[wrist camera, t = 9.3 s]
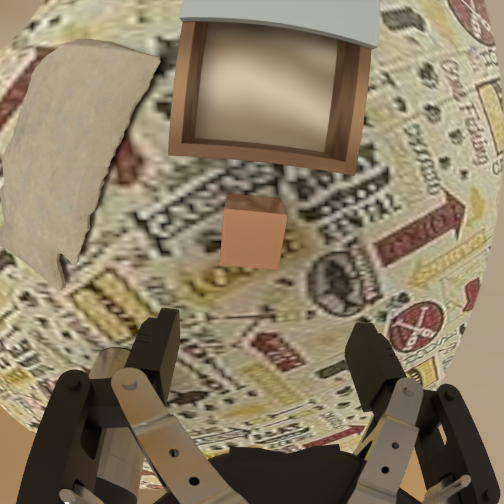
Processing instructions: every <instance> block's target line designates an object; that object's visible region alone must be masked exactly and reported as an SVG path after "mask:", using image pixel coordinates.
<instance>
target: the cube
mask: <svg viewBox="0 0 504 504" xmlns="http://www.w3.org/2000/svg"><path fill="white" fill-rule="evenodd" d="M287 216H288V215H287V213H286V210H285V208H284V206H283V204H282V202H281V200H280V198H271V197H262V196H253V195H243V194H232V193H227V197H226V202H225V207H224V218H223V229H222V242H221V254H220V265H225V266H236V267H247V268H259V269H270V270H278V268H279V262H280V256H281V251H282V245H283V239H284V233H285V228H286V222H287Z"/></svg>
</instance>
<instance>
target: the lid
mask: <svg viewBox="0 0 504 504" xmlns="http://www.w3.org/2000/svg"><path fill="white" fill-rule="evenodd" d="M379 12H380V0H183V2H182V7H181V13H180V19H181V21H182V22H183V21H215V22H235V23H248V24H258V25H267V26H274V27H281V28H288V29H294V30H299V31H304V32H310V33H314V34H319V35H323V36H328V37H332V38H336V39H340V40H343V41H347V42H351V43H354V44H357V45H361V46H364V47H367V48H370V49H374V48H377V47H378V36H379Z"/></svg>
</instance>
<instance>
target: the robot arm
mask: <svg viewBox="0 0 504 504" xmlns="http://www.w3.org/2000/svg"><path fill="white" fill-rule="evenodd" d="M179 345H180V320H179V310H178V309H170V308H161V310H160V313H159V316H158V318H150V317H149V318H148V319H147V320H146V321H145V322H144V323H142V324H141V327H140V329H139V332H138V335H137V336H136V339H135V342H134V344H133V346H132V349H131V351H129V350H125V349H120V348H109V349H106V350H103V351H102V352H100V354H99V355H98V357H97V359H96V361H95V363H94V365H93V367H92V370H91V372H90V374H89V376H88V375H87V374H86V373H85V372H83V371H81V370H69V371H66V372H65V373H63V374H62V375H61V376H60V377H59V379H58V381H57V383H56V386H55V388H54V390H53V393H52V395H51V397H50V400H49V402H48V405H47V407H46V410H45V412H44V415H43V417H42V420H41V422H40V425H39V428H38V431H37V433H36V436H35V439H34V442H33V445H32V448H31V451H30V454H29V457H28V460H27V464H26V467H25V471H24V474H23V478H22V481H21V486H20V490H19V493H18V497H17V502H16V504H136V503H137V497H138V491H139V486H140V480H141V473H142V468H143V462H144V457H145V458H146V460H147V461H148V463H149V465H150V467H151V468H152V470H153V472H154V473H155V475H156V476H157V478H158V480H159V481H160V483H161V484H162V486H163V487H164V489H165V490H166V491H167V493H166V494H165V495H163V496H162V497H161V498H160V499H158V500H157V501H156V502H155V503H153V504H497V503H498V501H499V499H500V489H499V485H498V483H497V480H496V476H495V473H494V471H493V468H492V465H491V463H490V460H489V457H488V454H487V452H486V449H485V447H484V444H483V442H482V440H481V437H480V435H479V432H478V430H477V428H476V426H475V423H474V421H473V419H472V417H471V415H470V413H469V410H468V408H467V406H466V404H465V402H464V400H463V398H462V396H461V394H460V392H459V391H458V389H457V388H456V387H454V386H452V385H450V384H443V385H441V386H440V387H439V388H438V389H437V391H431V390H424V389H422V386H421V385H420V384H419V383H418V382H417V381H416V380H414V379H412V378H407V376H406V374H405V372H404V370H403V368H402V366H401V364H400V362H399V360H398V358H397V356H395V355H396V354H395V353H394V351H393V350H392V347H391V345H390V343H389V341H388V340H387V339H386V338H385V337H384V336H383V335H382V334H381V333H378V332H377V330H376V328H375V326H374V325H373V323H356V324H355V326H354V328H353V331H352V333H351V336H350V338H349V340H348V343H347V345H346V348H345V359H346V362H347V365H348V368H349V370H350V373H351V376H352V379H353V382H354V385H355V388H356V391H357V394H358V397H359V400H360V403H361V406H362V409H363V412H369V411H373V414H374V415H373V416H372V418H371V420H370V422H369V424H368V426H367V428H366V430H365V432H364V434H363V436H362V438H361V440H360V442H359V444H358V446H357V448H356V449H355V451H354V452H353V453H352V454H351V453H348V452H344V451H340V447H339V444H334V445H324V446H313V447H310V448H307V449H303V450H300V451H296V452H293V453H288V454H286V453H280V452H275V451H270V450H266V449H261V448H248V447H230V450H229V453H226V454H221V455H218V456H215V457H212V458H210V459H208V460H207V459H206V457H205V456H204V455H203V453H202V452H201V451H200V450H199V448H198V447H197V446H196V444H195V443H194V442H193V440H192V439H191V437H190V436H189V435H188V433H187V432H186V431H185V429H184V428H183V426H182V425H181V423H180V422H179V421H178V419H177V418H176V417H175V416H174V415H171V414H170V413H169V412H168V411H167V409H166V408H165V407H166V403H167V399H168V394H169V389H170V385H171V380H172V376H173V372H174V367H175V363H176V359H177V355H178V350H179ZM441 424H442V427H443V430H444V432H445V435H446V437H447V441H446V445H444V442H443V439H442V437H441V434H440V432H439V429H438V427H439V426H440V425H441ZM414 447H415V450H416V454H417V457H418V460H419V464H420V467H421V471H422V474H423V478H424V482H425V486H426V490H427V492H426V494H425V497H424V501H423V502H422V503H421V502H419V501H418V500H416V499H415V498H414V497H412V496H411V495H409V494H408V493H407V492H405V491H404V490H402V489H401V488H400V487H399V486H400V484H401V481H402V479H403V476H404V474H405V471H406V468H407V466H408V463H409V460H410V457H411V454H412V451H413V448H414Z"/></svg>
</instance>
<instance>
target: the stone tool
mask: <svg viewBox="0 0 504 504" xmlns="http://www.w3.org/2000/svg"><path fill="white" fill-rule="evenodd" d="M160 59H161V58H160V57H156V56H152V55H149V54H144V53H141V52H138V51H135V50H133V49H129V48H126V47H124V46H121V45H118V44H115V43H113V42H104V41H97V40H90V39H77V40H74V41H70V42H66V43H64V44H61V45H60V46H59V47H58V48H57V49H56V50H55V51H53V52H52V53H50V54H48V55H47V56H45V58H44V59H43V60H42V62H41V63H40V64H39V65H38V66H37V67H36V68H35V70H34V72H33V73H32V76H31V82H30V84H29V88H28V92H27V94H26V96H25V98H24V103H23V106H22V108H21V111H20V114H19V117H18V121H17V125H16V127H15V129H14V134H13V136H12V139H11V141H10V143H9V144H8V146H7V148H6V149H5V152H4V154H3V164H4V165H3V173H4V185H3V186H2V187H1V189H0V197H1V201H2V211H3V216H4V224H3V226H2V227H1V228H0V246H2V247H4V248H6V249H8V250H9V251H11V252H12V253H13V254H14V255H15V256H17V257H18V258H20V259H21V260H22V261H24V262H25V263H26V264H27V265H29V266H30V267H31V268H32V269H33V270H34V271H35V272H37V273H39V274H40V275H42V276H43V277H44V278H45V279H46V280H47V281H48V282H49V283H50V284H51V285H52V286H54V287H56V288H57V289H58V290H59V291H60V290H61V289H63V288H65V286H66V281H65V278H64V274H63V271H62V267H61V264H60V261H59V257H60V254H63V255H64V256H66V258H67V259H68V260H69V261H70V262H71V263H72V264H75V265H76V264H77V263H78V261H79V255H80V251H81V249H82V245H83V242H84V241H85V235H86V233H87V232H88V231H89V230H90V215H91V214H92V213H93V212H94V211H95V208H96V206H97V205H98V203H99V202H98V199H99V197H100V195H101V187H102V186H103V184H104V183H105V181H104V180H103V178H104V177H105V176H106V175H107V174H108V173H109V170H108V167H109V166H110V163H111V160H112V158H113V157H114V156H115V152H116V149H117V148H118V146H119V145H120V144H121V141H122V139H123V137H124V131H125V129H126V128H127V127H128V126H129V124H130V118H131V116H132V113H133V111H134V109H135V106H136V105H137V104H138V103H139V102H140V100H141V99H142V97H143V95H144V94H145V93H146V92H147V91H148V89H149V88H150V84H151V79H152V78H153V75H154V73H155V71H156V69H157V68H158V66H159V64H160V62H161V61H160Z"/></svg>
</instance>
